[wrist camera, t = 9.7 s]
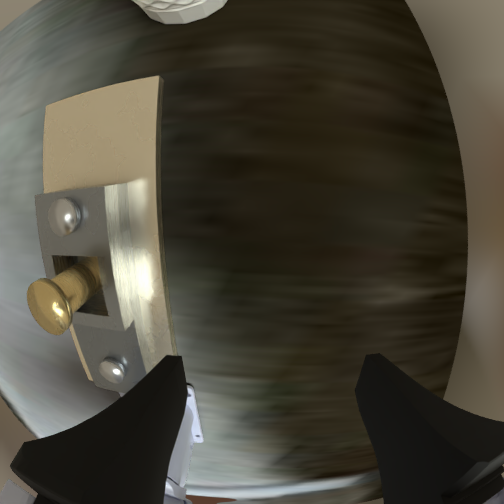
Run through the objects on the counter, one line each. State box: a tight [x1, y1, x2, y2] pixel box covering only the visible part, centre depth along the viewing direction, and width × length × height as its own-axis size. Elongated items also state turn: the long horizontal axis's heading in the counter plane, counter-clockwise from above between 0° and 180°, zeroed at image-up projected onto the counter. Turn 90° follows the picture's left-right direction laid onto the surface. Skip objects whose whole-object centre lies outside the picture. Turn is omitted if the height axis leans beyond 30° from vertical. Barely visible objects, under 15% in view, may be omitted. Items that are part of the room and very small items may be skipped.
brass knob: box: [27, 256, 102, 335], centre depth 14 cm, size 3×3×7 cm
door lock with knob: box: [35, 76, 178, 394], centre depth 16 cm, size 25×10×5 cm, turn 179°
